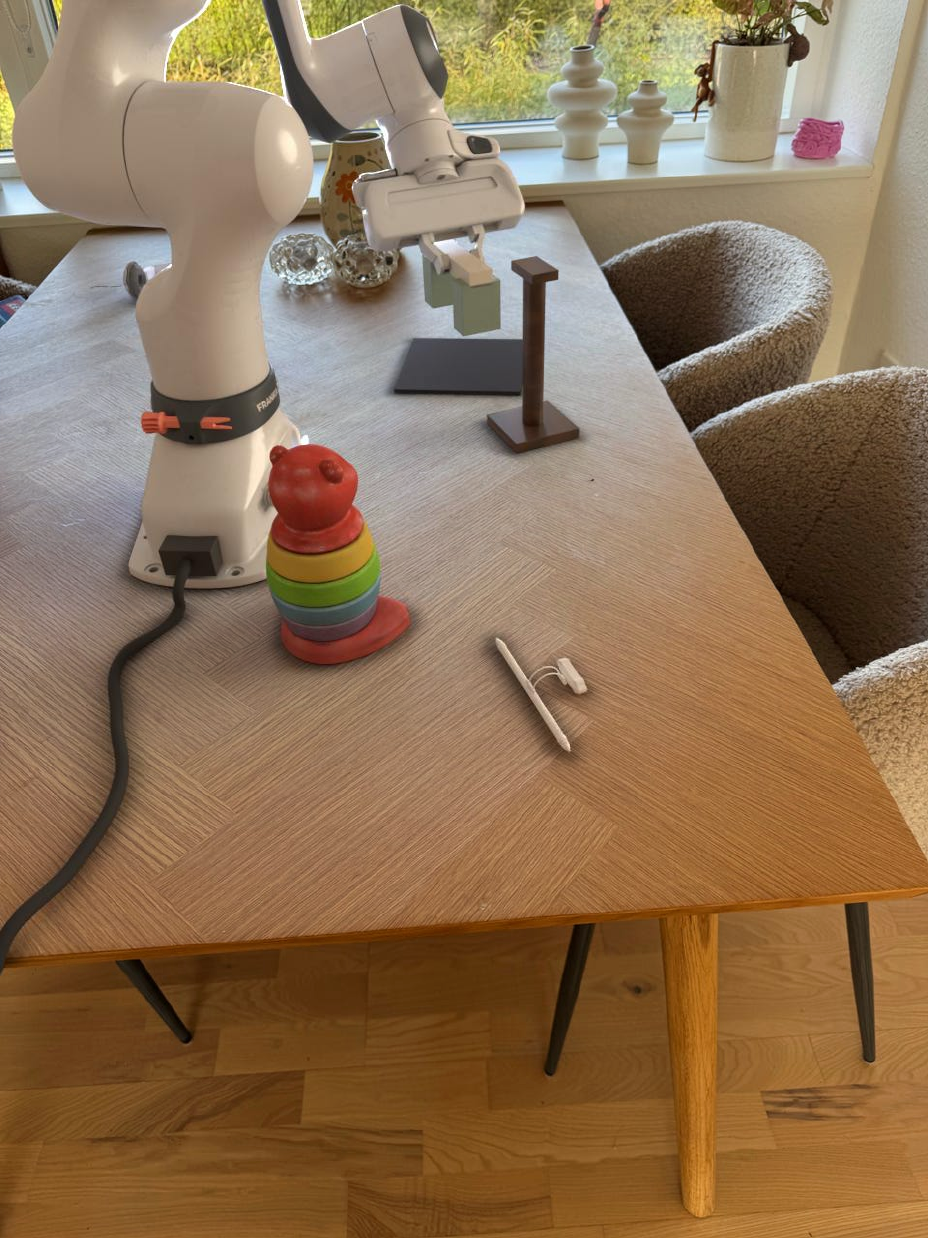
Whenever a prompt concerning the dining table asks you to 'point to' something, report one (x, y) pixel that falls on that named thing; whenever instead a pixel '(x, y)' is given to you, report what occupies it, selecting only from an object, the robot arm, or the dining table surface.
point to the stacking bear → (325, 560)
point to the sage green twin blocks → (464, 289)
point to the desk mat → (462, 367)
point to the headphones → (138, 277)
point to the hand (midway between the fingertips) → (462, 268)
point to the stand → (533, 371)
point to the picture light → (567, 676)
